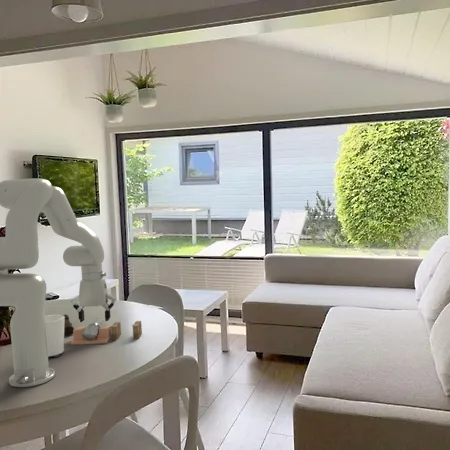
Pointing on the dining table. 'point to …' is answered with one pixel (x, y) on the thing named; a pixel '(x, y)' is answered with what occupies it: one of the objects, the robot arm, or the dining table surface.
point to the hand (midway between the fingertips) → (94, 320)
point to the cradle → (100, 338)
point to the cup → (55, 334)
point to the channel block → (117, 330)
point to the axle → (92, 329)
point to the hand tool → (67, 326)
